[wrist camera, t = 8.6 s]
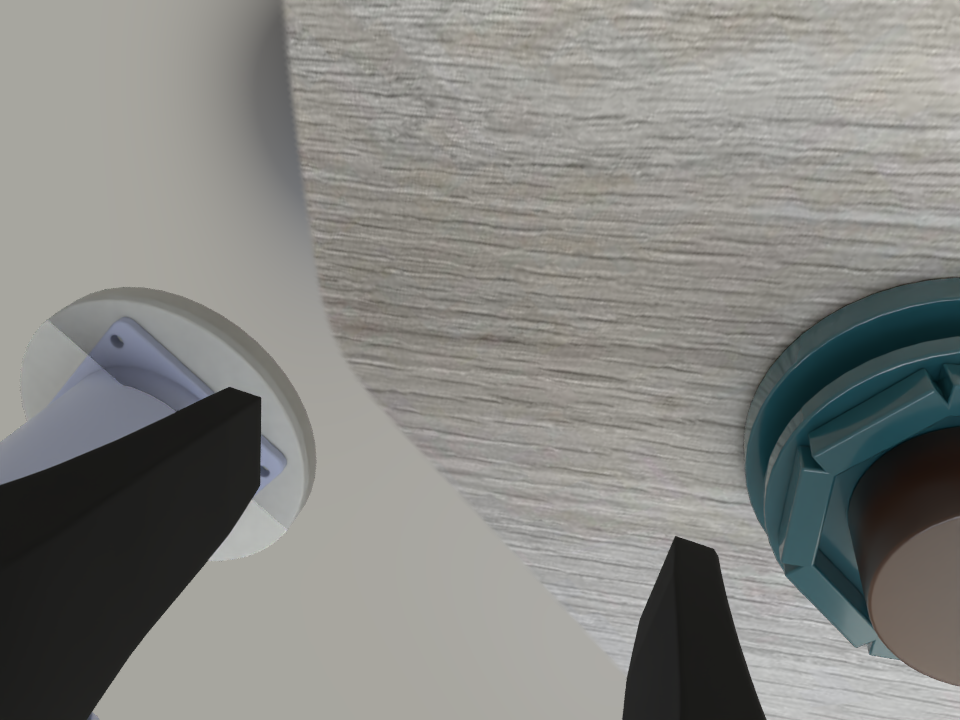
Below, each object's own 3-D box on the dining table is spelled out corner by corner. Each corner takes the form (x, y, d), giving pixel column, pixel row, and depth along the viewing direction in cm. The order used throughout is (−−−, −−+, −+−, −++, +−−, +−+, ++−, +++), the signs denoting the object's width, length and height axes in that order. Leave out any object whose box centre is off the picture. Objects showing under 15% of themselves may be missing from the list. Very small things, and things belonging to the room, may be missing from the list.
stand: (877, 630, 25) (903, 741, 22) (671, 415, 24) (665, 500, 20) (1239, 481, 21) (1344, 594, 17) (1015, 194, 19) (1084, 257, 15)
